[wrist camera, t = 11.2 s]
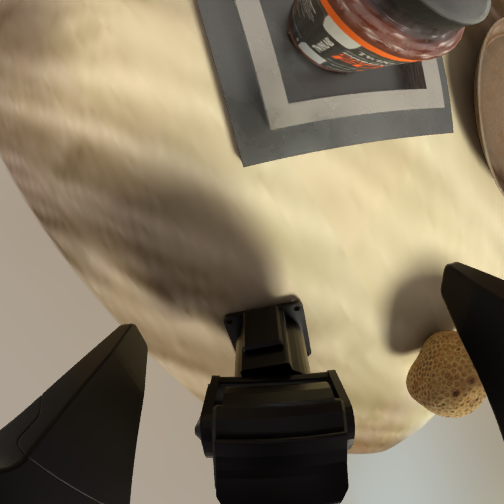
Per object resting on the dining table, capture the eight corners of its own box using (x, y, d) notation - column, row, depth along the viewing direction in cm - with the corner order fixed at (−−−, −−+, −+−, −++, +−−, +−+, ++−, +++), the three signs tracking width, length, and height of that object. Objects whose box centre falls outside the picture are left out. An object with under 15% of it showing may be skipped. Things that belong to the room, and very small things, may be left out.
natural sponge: (479, 313, 25) (523, 375, 17) (436, 368, 29) (466, 431, 21) (430, 300, 24) (480, 379, 15) (383, 364, 28) (412, 442, 19)
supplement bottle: (310, 86, 15) (403, 69, 5) (269, 2, 13) (296, -109, 3) (395, 63, 14) (532, 53, 4) (357, -17, 11) (456, -94, 2)
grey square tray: (445, 130, 17) (470, 137, 14) (243, 164, 18) (242, 175, 16) (397, -51, 10) (415, -65, 7) (187, -36, 12) (177, -55, 9)
